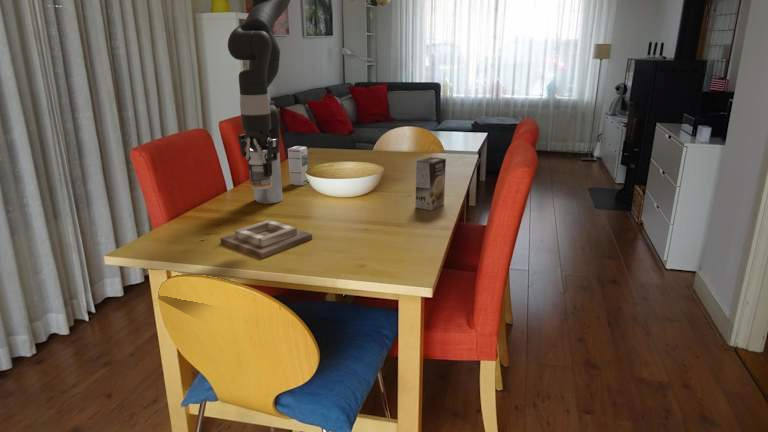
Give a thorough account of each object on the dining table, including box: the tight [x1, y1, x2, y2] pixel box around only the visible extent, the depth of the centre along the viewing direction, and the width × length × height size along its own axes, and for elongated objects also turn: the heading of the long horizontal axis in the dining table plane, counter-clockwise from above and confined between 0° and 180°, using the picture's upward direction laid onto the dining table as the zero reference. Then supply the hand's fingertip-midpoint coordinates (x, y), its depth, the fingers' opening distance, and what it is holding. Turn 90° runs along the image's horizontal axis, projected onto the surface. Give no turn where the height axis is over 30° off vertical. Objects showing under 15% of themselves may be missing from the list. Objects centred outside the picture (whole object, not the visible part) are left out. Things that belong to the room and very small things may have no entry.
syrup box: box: [287, 145, 310, 186], centre depth 208 cm, size 6×6×14 cm
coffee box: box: [415, 156, 447, 211], centre depth 178 cm, size 9×6×16 cm
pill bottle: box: [247, 150, 272, 190], centre depth 143 cm, size 6×6×10 cm
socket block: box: [219, 219, 313, 259], centre depth 149 cm, size 18×18×4 cm
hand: (260, 174), depth 143 cm, fingers closed on pill bottle, 5 cm apart
